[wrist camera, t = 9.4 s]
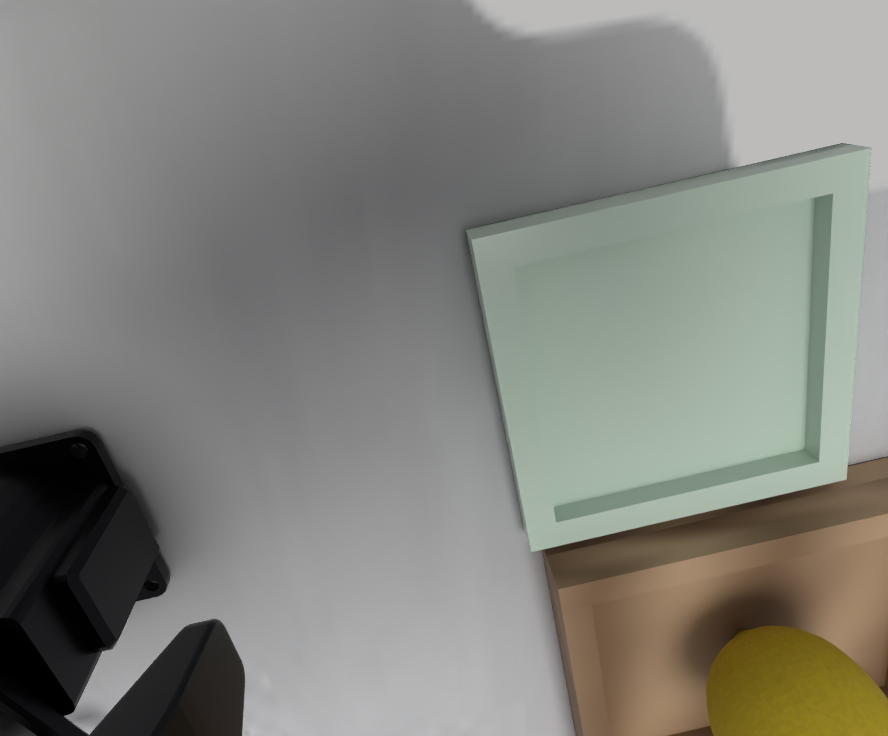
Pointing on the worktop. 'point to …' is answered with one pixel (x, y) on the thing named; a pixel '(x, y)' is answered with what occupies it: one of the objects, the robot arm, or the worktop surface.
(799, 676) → the lemon
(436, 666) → the worktop surface
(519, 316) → the dish
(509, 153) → the worktop surface
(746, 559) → the tray
